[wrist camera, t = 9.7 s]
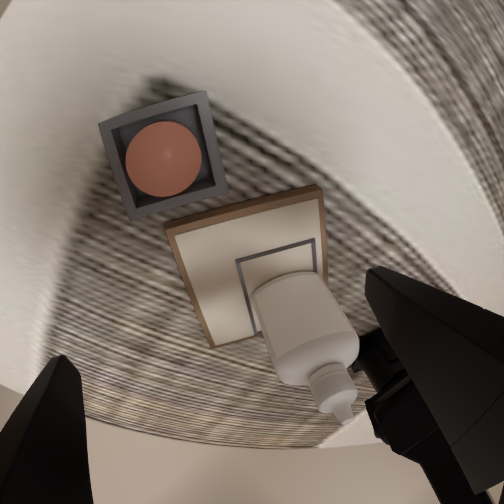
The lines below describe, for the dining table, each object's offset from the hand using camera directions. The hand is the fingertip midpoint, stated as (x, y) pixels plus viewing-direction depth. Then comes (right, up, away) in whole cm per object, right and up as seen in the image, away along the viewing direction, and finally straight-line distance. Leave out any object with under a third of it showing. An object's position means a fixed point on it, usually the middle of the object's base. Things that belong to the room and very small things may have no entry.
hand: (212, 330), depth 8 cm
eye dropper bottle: (+4, -1, +16) cm, 17 cm away
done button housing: (-4, +9, +10) cm, 14 cm away
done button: (-4, +8, +9) cm, 12 cm away
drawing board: (+1, 0, +16) cm, 16 cm away
